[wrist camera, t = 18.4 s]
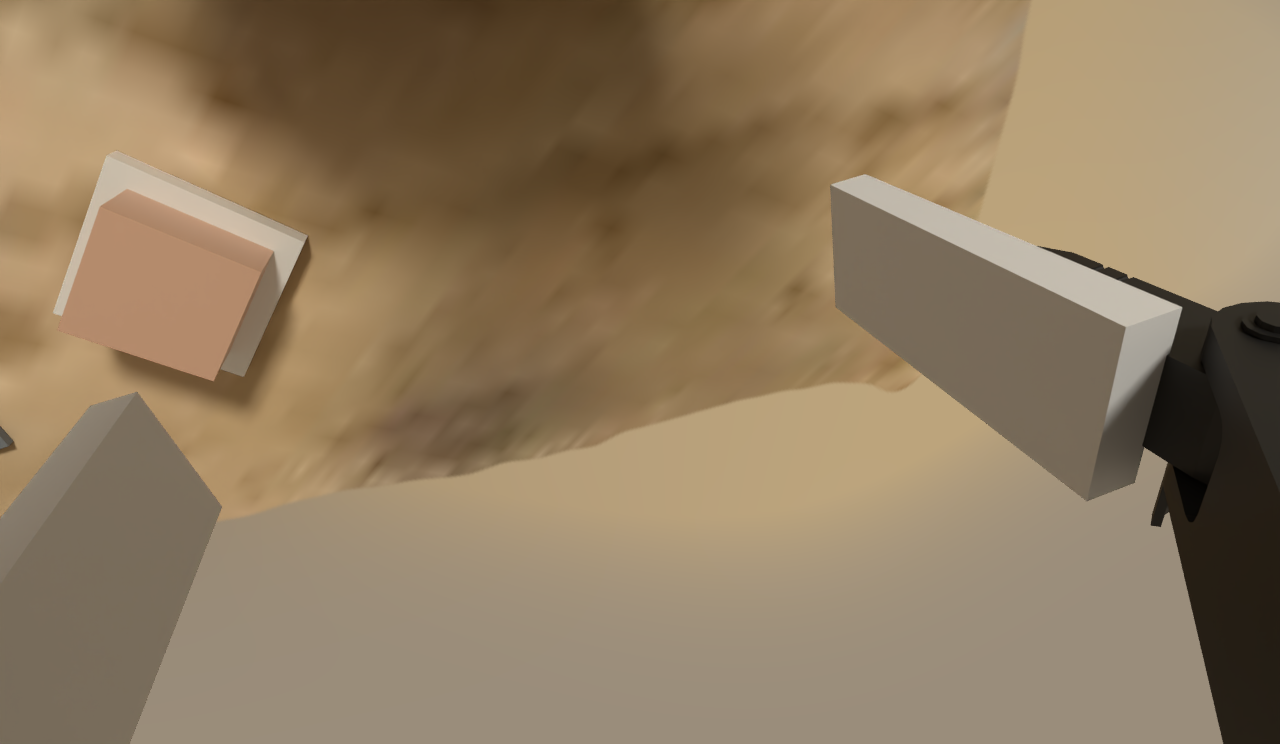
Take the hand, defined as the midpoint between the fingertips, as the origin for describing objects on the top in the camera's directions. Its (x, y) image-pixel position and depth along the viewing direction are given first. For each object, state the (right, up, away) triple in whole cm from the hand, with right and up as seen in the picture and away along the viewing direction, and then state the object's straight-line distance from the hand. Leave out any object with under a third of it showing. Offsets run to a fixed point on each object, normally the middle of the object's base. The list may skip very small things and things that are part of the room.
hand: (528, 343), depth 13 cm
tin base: (-28, +6, +31) cm, 42 cm away
